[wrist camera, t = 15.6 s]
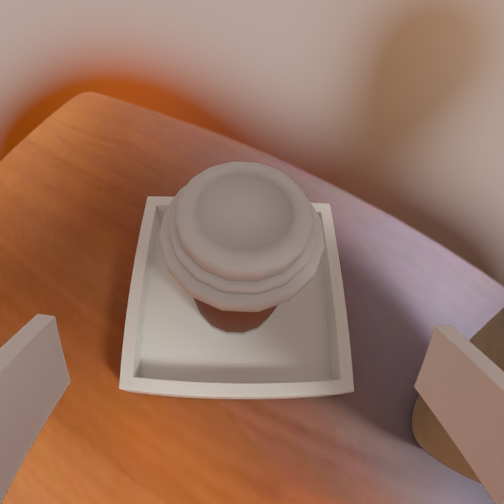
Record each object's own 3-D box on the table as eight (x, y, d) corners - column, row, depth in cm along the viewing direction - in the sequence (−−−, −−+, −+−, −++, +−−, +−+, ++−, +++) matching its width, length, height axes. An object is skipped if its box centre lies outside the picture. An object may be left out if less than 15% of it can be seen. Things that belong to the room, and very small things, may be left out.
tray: (321, 222, 32) (329, 204, 29) (340, 394, 24) (354, 391, 21) (152, 215, 31) (147, 196, 28) (130, 392, 22) (119, 388, 20)
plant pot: (501, 438, 21) (619, 410, 7) (396, 515, 18) (530, 550, 4) (465, 321, 28) (574, 246, 14) (353, 373, 25) (483, 307, 11)
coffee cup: (161, 279, 26) (127, 185, 16) (251, 233, 29) (267, 130, 19) (216, 373, 23) (210, 333, 13) (311, 314, 26) (368, 237, 16)
